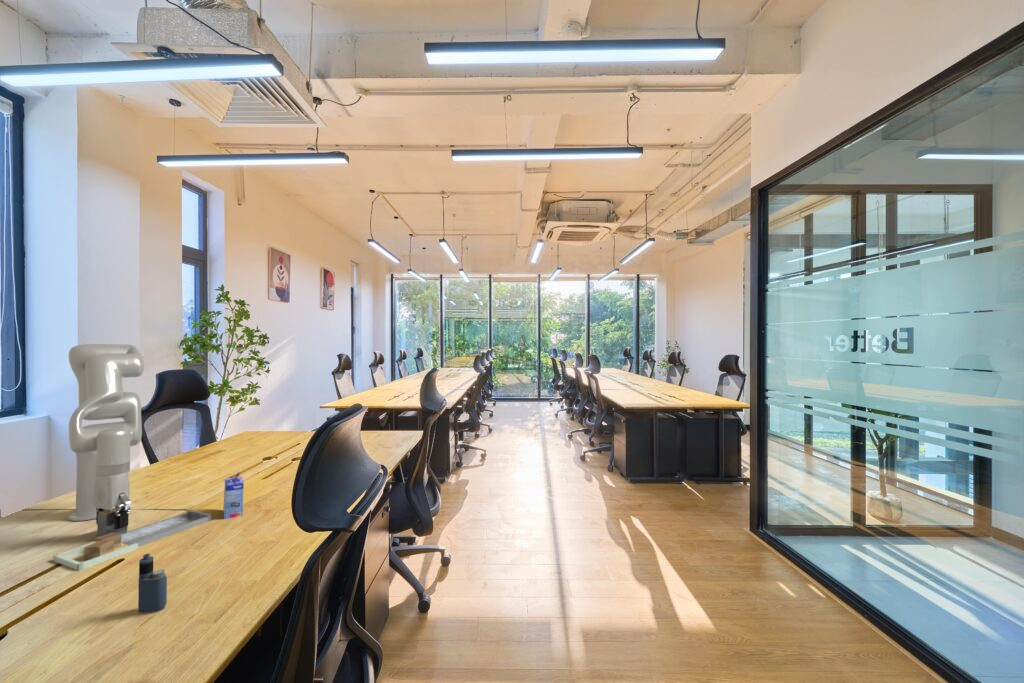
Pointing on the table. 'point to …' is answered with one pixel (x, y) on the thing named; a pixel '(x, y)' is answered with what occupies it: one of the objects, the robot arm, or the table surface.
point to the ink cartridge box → (233, 497)
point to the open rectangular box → (165, 528)
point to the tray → (77, 565)
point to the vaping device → (151, 586)
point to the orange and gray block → (108, 523)
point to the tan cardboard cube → (111, 536)
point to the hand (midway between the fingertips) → (112, 525)
